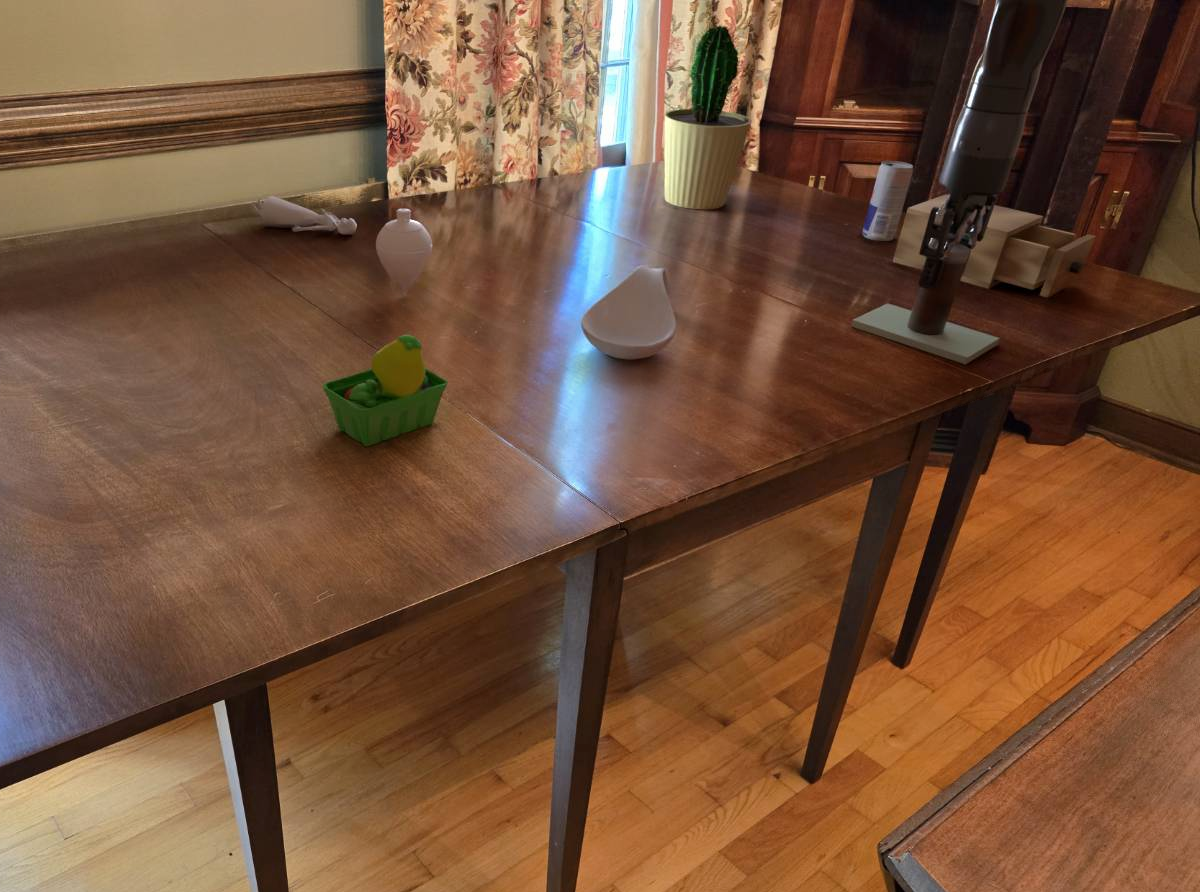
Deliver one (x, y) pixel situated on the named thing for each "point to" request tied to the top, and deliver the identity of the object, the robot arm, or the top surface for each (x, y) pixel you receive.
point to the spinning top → (404, 249)
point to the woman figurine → (299, 217)
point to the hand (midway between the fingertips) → (940, 281)
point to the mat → (949, 344)
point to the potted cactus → (705, 129)
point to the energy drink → (887, 200)
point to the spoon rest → (632, 316)
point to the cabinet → (981, 256)
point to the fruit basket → (387, 394)
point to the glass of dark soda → (939, 295)
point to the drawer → (1043, 259)
